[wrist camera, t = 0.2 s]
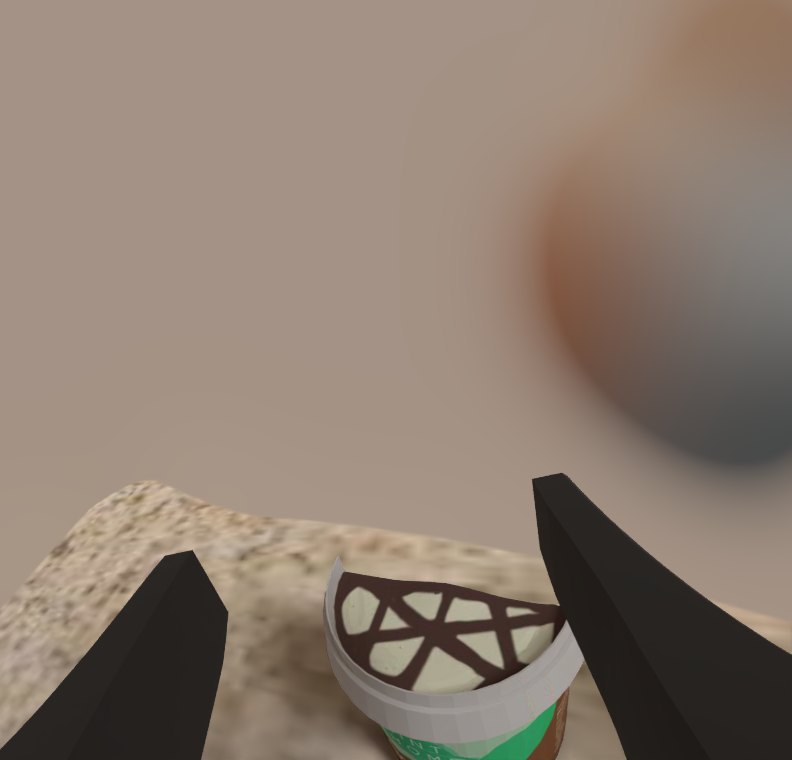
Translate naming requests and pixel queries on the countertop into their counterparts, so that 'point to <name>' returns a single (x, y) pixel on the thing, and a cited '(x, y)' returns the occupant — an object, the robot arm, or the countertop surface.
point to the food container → (451, 667)
